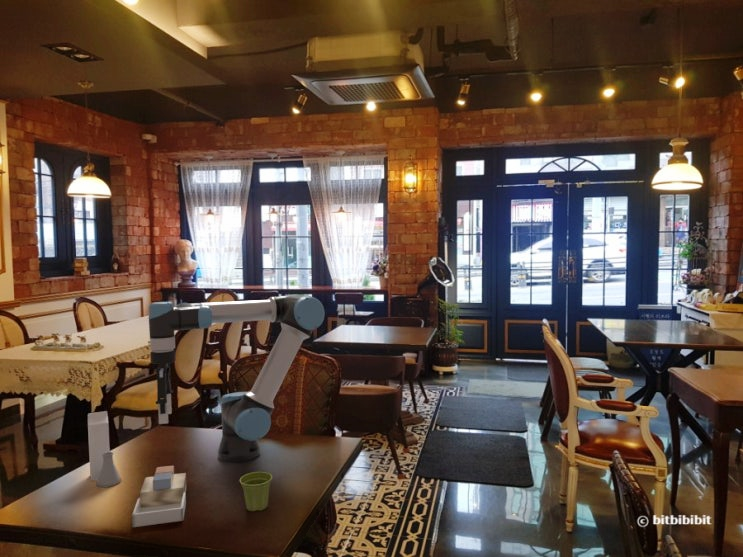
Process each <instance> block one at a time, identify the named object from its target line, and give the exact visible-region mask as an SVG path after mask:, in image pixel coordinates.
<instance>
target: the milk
mask: <svg viewBox="0 0 743 557" xmlns="http://www.w3.org/2000/svg"><path fill="white" fill-rule="evenodd" d="M87 430H88V431H87V432H88V435H87V436H88V455H89V475H90V476H89V477H90V481H91V482H94V481H98V478H99V475H100V472H101V469H102V466H103V456H102V454H103V453H105V452H111V451H110V428H109V416H108V411H107V410H104V411H97V412H91V413H90V412H89V413H88V414H87Z"/></svg>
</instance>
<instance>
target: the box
mask: <svg viewBox="0 0 743 557" xmlns="http://www.w3.org/2000/svg"><path fill="white" fill-rule="evenodd" d="M186 492H187V491H186ZM186 492H185V493H183V498H182V503H176V504H168V505H160V506H152V507H145V508H141V499H140V497H138V498H137V499H136V503H135V506H134V509H133V512H132V514H131V518H132V519H131V520H132V528H137V527H145V526H153V525H158V524H167V523H177V522H184V520H185V514H186V513H185V512H186V505H187V499H186V498H187V495H186V494H187V493H186Z"/></svg>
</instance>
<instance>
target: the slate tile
mask: <svg viewBox="0 0 743 557" xmlns="http://www.w3.org/2000/svg"><path fill="white" fill-rule="evenodd" d="M153 477H154V478H153V490H161V489H169V488H171V486H172V482H173V479H172V472H168V473H160V474H155V473H154V476H153Z"/></svg>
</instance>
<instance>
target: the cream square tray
mask: <svg viewBox="0 0 743 557" xmlns="http://www.w3.org/2000/svg"><path fill="white" fill-rule="evenodd" d="M153 478H154V476H146V477H145V478H144V481H143V484H142V487H141V489H140V493H139V495H140V496H139V498H140V502H141V508H145V507H152V506H160V505H168V504H176V503H182V498H183V493H185V492H187V473H186V472H183V473H182V472H181V473H174V478H173V482H172V486H171V488H169V489H161V490H153Z"/></svg>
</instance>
